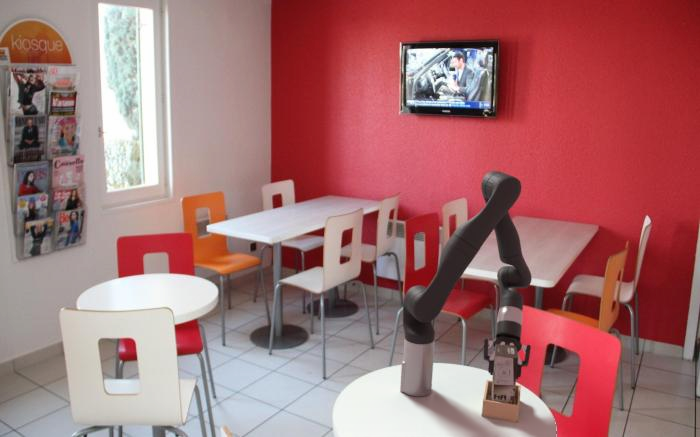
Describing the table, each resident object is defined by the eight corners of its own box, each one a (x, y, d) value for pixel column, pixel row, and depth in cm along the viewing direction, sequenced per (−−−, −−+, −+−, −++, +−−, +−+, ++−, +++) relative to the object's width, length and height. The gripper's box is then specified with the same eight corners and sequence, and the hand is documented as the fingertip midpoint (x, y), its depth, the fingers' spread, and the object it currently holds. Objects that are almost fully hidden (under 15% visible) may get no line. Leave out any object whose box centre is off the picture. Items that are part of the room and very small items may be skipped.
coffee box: (513, 409, 183) (518, 358, 179) (491, 406, 184) (495, 355, 180) (512, 394, 192) (517, 345, 188) (490, 391, 193) (495, 342, 189)
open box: (481, 416, 183) (483, 400, 182) (485, 394, 196) (486, 380, 195) (517, 422, 181) (519, 406, 180) (519, 400, 193) (520, 385, 192)
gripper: (485, 316, 193) (479, 368, 185) (534, 322, 189) (530, 376, 181) (485, 326, 199) (479, 376, 191) (532, 332, 195) (528, 384, 187)
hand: (504, 376), depth 186 cm, fingers closed on coffee box, 6 cm apart
